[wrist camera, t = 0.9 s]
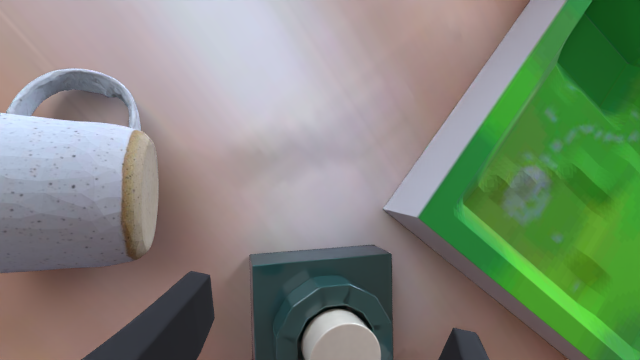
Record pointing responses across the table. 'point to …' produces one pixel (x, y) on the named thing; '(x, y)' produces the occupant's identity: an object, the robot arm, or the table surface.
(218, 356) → the table surface
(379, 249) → the dark green button base
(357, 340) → the white push button
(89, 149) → the ceramic mug
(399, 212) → the tray
